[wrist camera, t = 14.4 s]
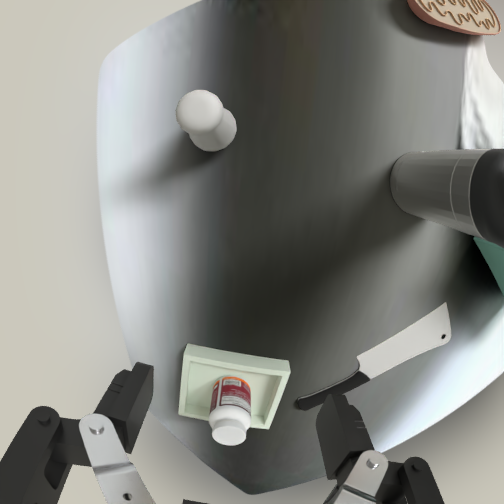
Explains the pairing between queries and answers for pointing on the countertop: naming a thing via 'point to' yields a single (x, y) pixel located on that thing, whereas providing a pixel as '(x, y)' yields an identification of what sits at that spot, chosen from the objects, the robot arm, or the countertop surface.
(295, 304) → the countertop surface
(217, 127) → the salt shaker
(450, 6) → the mitochondrion model
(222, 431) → the pill bottle
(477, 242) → the box
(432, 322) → the kitchen cleaver
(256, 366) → the collection tray
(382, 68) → the countertop surface
